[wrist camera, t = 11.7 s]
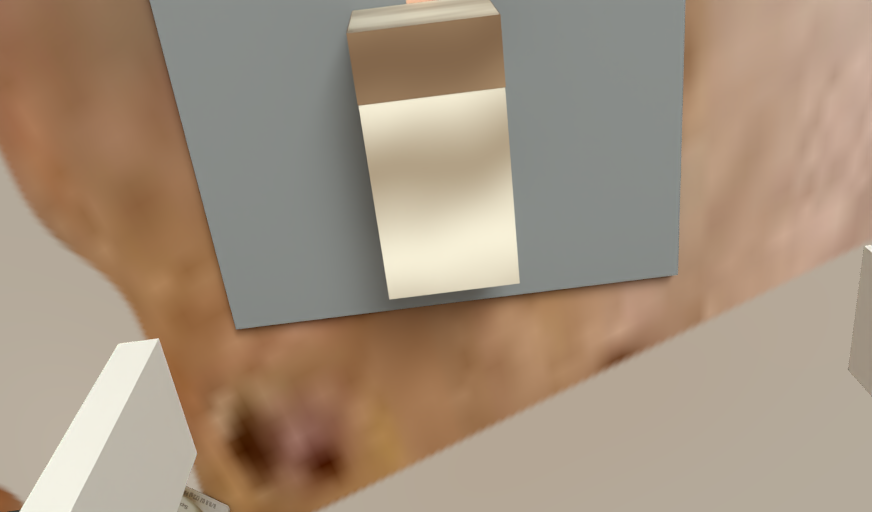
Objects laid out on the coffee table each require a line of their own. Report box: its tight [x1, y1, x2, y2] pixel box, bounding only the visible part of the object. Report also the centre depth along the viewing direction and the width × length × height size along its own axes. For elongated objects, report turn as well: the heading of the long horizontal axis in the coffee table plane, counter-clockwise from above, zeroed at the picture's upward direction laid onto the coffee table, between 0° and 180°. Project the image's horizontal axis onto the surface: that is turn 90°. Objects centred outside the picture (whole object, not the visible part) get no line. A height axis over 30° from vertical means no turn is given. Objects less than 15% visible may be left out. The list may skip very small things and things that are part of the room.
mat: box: [150, 0, 685, 329], centre depth 32 cm, size 20×16×1 cm
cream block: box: [346, 0, 520, 300], centre depth 30 cm, size 10×5×4 cm, turn 7°
